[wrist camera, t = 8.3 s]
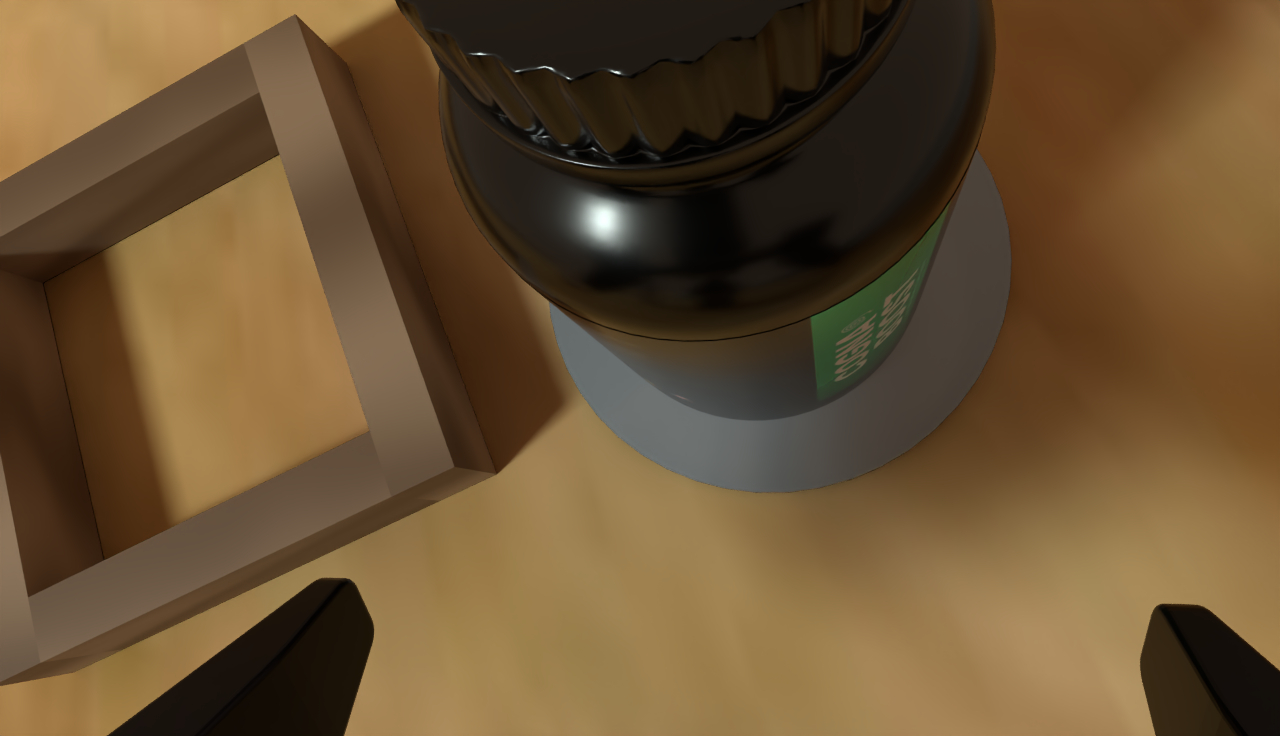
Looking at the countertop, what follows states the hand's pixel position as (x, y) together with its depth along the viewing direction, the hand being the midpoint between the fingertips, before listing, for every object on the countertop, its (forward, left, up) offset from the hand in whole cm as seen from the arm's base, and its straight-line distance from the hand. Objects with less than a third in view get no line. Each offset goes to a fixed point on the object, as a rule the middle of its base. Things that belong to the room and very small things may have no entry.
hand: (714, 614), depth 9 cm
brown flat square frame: (+15, +3, -8) cm, 17 cm away
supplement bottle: (+4, -5, -8) cm, 10 cm away
